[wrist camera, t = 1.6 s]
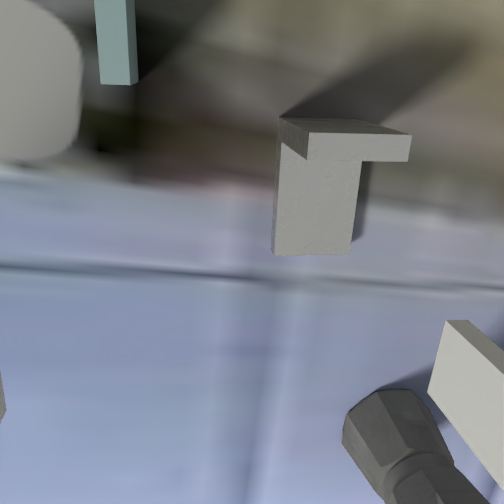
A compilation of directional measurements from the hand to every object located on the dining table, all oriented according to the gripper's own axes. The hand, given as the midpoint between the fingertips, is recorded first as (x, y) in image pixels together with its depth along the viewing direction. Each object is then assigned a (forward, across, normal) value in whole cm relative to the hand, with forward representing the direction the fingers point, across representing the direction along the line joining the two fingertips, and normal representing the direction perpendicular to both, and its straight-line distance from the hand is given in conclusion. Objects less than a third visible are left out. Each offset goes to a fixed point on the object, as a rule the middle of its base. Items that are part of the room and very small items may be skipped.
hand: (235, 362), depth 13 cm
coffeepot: (+22, +19, -24) cm, 38 cm away
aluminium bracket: (+21, +8, 0) cm, 23 cm away
